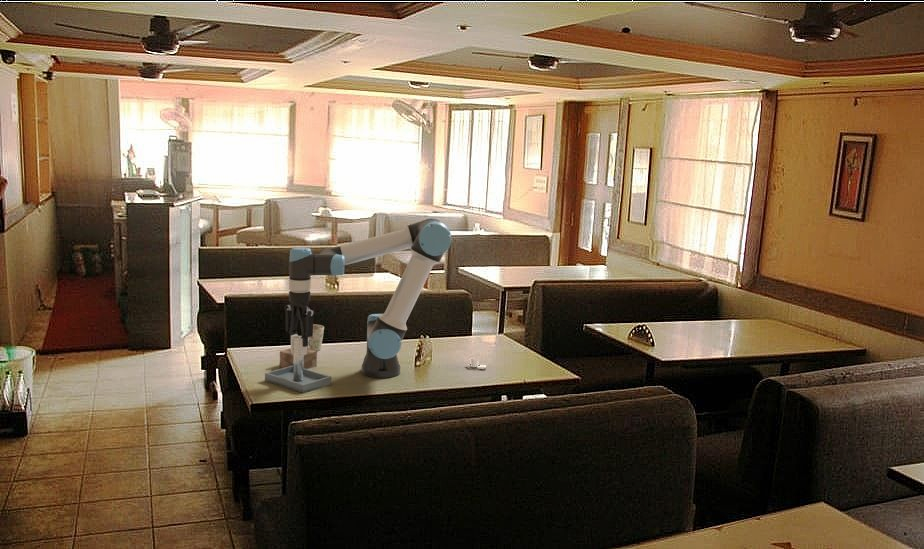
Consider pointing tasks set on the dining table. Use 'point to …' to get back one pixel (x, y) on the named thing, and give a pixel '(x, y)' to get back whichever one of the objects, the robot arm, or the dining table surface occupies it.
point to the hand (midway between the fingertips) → (298, 353)
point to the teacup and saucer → (476, 363)
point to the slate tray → (308, 383)
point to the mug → (316, 338)
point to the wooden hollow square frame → (288, 358)
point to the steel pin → (297, 360)
